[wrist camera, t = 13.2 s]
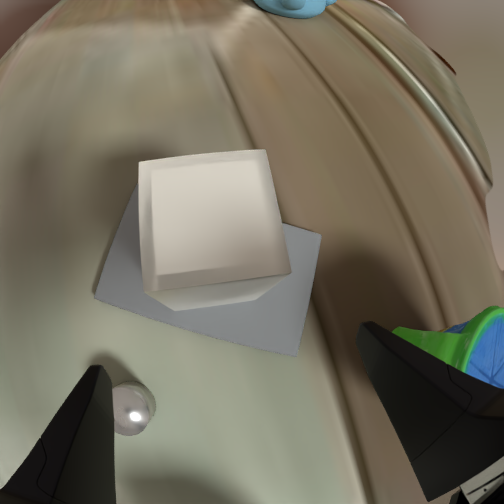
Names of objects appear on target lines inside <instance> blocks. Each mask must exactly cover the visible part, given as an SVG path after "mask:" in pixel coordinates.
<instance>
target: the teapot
mask: <svg viewBox="0 0 504 504" xmlns="http://www.w3.org/2000/svg"><path fill="white" fill-rule="evenodd" d="M254 1H255V3H256V4H257V5H258V6H259V7H261V8H262V9H264V10H266V11H268V12H271V13H274V14H277V15H281V16H285V17H290V18H299V19H306V18H311V17H314V16H316V15H319V14H321V13H322V12H323V11H324V10H325V6H328V5H331V4H333V3H335V2H336V1H337V0H254Z"/></svg>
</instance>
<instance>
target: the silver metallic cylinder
mask: <svg viewBox="0 0 504 504" xmlns="http://www.w3.org/2000/svg"><path fill="white" fill-rule="evenodd" d="M112 393H113V409H114V431H115V432H116V433H119V434H121V435H126V436H132V435H136V434H139V433H140V432H142V431H143V430H144V429H145V427H146V426H147V424H148V423H149V422H150V420H151V419H152V417H153V416H154V414H155V411H156V402H155V398H154V396H153V394H152V393H151V391H150V390H149V389H148V388H147V387H145V386H144V385H142V384H140V383H138V382H133V381H128V382H124V383H121V384H119V385H118V386H116V387H114V388H112Z"/></svg>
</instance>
